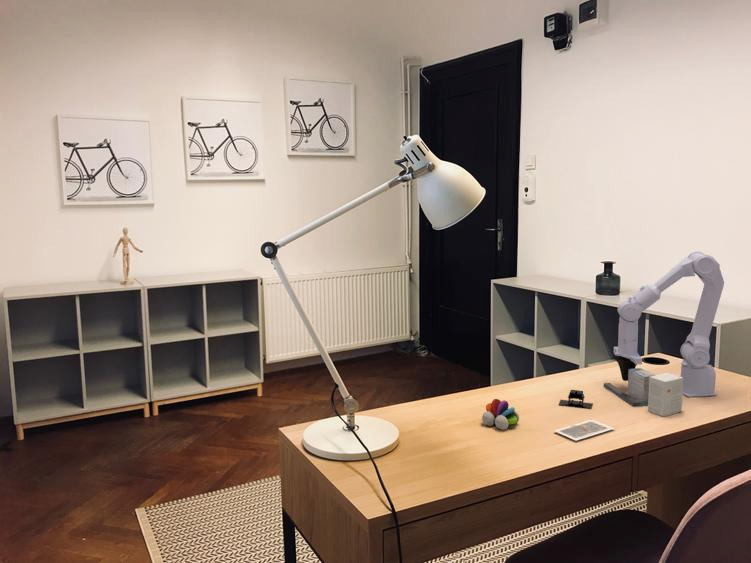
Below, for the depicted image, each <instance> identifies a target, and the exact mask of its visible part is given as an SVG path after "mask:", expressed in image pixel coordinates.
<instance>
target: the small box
mask: <svg viewBox="0 0 751 563" xmlns="http://www.w3.org/2000/svg"><path fill="white" fill-rule="evenodd" d="M683 395H684V394H683V377H681V375H676V374H673V373H670V372H664V373H660V374H655V376H651V377H649V395H648V406H647V411H648V412H650V413H652V414H655V415H658V416H661V417H663V418H664V417H667V416H670V415H674V414H675V415H676V414H678V413H681V412H682V408H683Z"/></svg>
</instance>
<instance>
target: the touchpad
mask: <svg viewBox="0 0 751 563" xmlns="http://www.w3.org/2000/svg"><path fill="white" fill-rule="evenodd" d="M615 429H616V428H615V427H612V426H610V425H607V424H605V423H603V422H599V421H597V420H594V419H589V420H585V421H582V422H577V423H575V424H571V425H568V426H565V427H561V428H558V429H555V430H553V432H555V433H558V434H559V435H562V436H564V437H567V438H569V439H571V440H574V441H579V440H582V439H586V438H589V437H592V436H596V435H599V434H602V433H605V432H608V431H611V430H615Z"/></svg>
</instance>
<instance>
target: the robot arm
mask: <svg viewBox="0 0 751 563" xmlns="http://www.w3.org/2000/svg"><path fill="white" fill-rule="evenodd" d="M720 267H721V265H720V263H719V262H718V261H717V260H716V259H715V258H714V257H713V256H712V255H709V254H705V253H703V252H702V251H694V252H691V253H690V254H689V255H687V257H686V256H685V257H684V258H683V259H681V260H680V261H679V262H678V263H677V264H675V265H674V267H673V268H671V269H670V270H669V271H668V272H666V273H665V274H664V275H663V276H662V277H661V278H660V279H658V280H657V281H656V282H655V283H653V284H646V285H641V286H640V287H639V289H640V290H638V291H637V292H636V293H635V294H633V295H632V296H629V297H627V300H624V301H621V303H620V304H619V305H618V307H617V313H618V315H619V319H618V321H619V322H618V336H617V338H618V339H617V341H618V342H617V346H613V353H614V355H615V356H617V357H615V360H616V362H617V365H618V368H619V371H620V375H621V379H622V381H624V382H628V373H629V369H634V368H637V366H638V365H643V358H642V357H641V356H640V354H639V352H638V345H639V344H638V343H639V342H638V341H639V340H638V339H639V338H638V337H639V336H638V335H639V332H638V331H639V324H638V323H639V319H640V318H641V316H642V313H643V312H645V311H647V309H649V308H650V307H651V306H652V305H654V304H655V303H656V302H658V301H659V300H660V299H661V293H663V292H664V291H665V290H667V289H669V288H670V287H671V286H672V285H674V284H675V283H677V282H679V281H680V280H681V279H682V278H688V277H689V278H690V277H696V275H697V277H698V278H699V279H700V281H701V282H702V283H703V288H702V292H701V296H700V299H699V303H698V305H697V306H698V307H697V309H696V313H695V316H694V321H693V324H692V327H691V328H692V329H691V331H690V333H689V334H688V335H687V336H686V339H685V341H684V343H683V344H682V345H681V347H680V355H681V356H682V358H683V360H682V361H681V364H680V365H681V366H680V377H683V395H684V396H685V397H688V398H689V397H690V398H691V397H692V398H693V397H709V396H710V397H711V396H716V395H717V393H716V392H715V391H716V380H717V379H716V378H717V377H716V376H717V374H716V373H717V372H716V371H715V368H714V367H713V365H712V364H710V360H711V356H710V349H711V348H710V347H711V344H710V335H711V332H712V328H713V325H714V321H715V318H716V314H717V310H718V306H719V304H720V300H721V296H722V292H723V290H724V287H725V286H724V285H725V281H724V277H723V275H722V271H721V269H720Z"/></svg>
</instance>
